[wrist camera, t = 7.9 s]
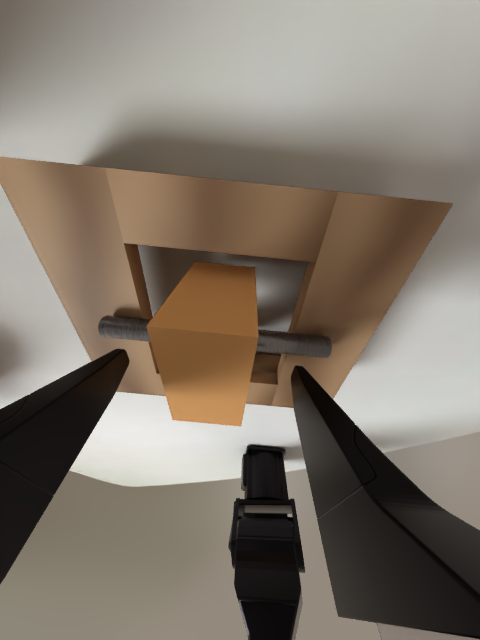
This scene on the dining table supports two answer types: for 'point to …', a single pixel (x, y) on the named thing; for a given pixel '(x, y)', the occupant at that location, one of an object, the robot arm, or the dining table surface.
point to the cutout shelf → (223, 237)
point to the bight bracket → (207, 343)
